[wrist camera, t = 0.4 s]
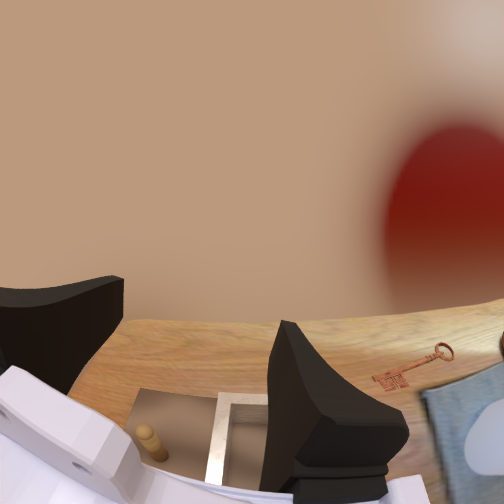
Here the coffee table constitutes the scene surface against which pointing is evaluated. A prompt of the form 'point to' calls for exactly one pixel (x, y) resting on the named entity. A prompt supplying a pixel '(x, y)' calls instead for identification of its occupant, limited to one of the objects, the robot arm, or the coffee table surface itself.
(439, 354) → the key
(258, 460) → the board
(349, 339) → the coffee table surface
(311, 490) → the robot arm
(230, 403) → the cream hollow block
